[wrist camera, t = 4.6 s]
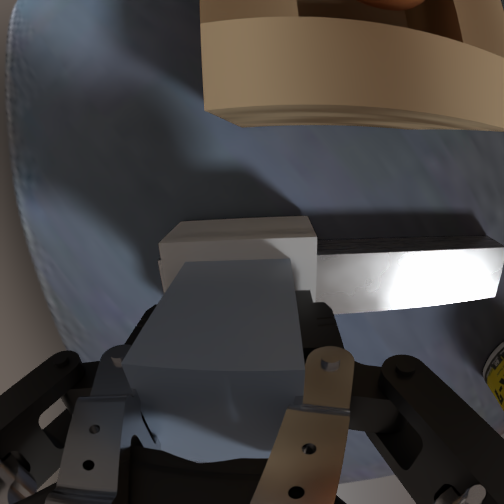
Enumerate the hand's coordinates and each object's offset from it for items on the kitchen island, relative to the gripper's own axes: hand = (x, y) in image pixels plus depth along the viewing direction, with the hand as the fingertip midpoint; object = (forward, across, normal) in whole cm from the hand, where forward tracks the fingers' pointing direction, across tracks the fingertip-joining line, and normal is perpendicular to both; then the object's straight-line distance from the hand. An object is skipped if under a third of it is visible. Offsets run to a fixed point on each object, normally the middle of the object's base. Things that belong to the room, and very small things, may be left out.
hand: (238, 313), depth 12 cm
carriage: (+4, 0, 0) cm, 4 cm away
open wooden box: (+4, -4, -11) cm, 12 cm away
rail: (+4, -5, 0) cm, 7 cm away
